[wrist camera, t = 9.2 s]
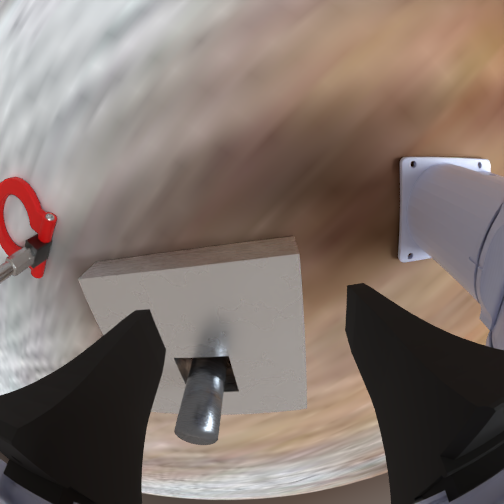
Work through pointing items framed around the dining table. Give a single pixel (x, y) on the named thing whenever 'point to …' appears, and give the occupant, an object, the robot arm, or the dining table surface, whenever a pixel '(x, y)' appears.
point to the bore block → (216, 317)
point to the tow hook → (39, 221)
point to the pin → (202, 401)
